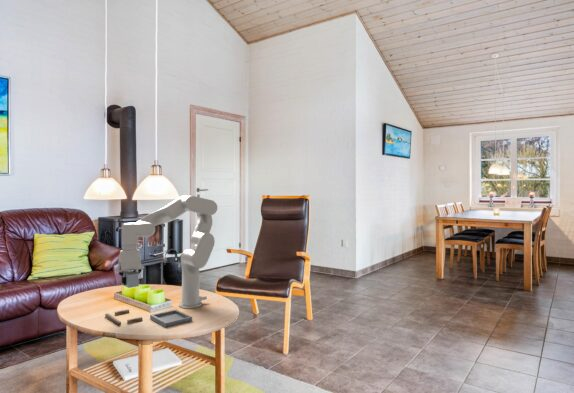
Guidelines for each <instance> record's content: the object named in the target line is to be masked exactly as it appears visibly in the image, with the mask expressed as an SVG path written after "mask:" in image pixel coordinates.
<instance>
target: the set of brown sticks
mask: <svg viewBox="0 0 574 393" xmlns="http://www.w3.org/2000/svg"><path fill="white" fill-rule="evenodd" d="M124 314H130V309H122V310H117V311H114V316H119V315H124ZM104 316H105V318H106V319H108V320H110V322H112V323H113V324H116V326H118V327H119V326H121V325H122V322H121V320H119V319H117V318H116V317H114V316H113V315H112V314H110V313H105V314H104ZM142 321H143V316H139V317H135V318H129V319H126V322H127V324H133V323H137V322H142Z"/></svg>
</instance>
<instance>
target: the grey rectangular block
mask: <svg viewBox="0 0 574 393" xmlns="http://www.w3.org/2000/svg"><path fill="white" fill-rule="evenodd" d="M139 276H140V273H139V272H137V271H134V270H130V271H127V272H126V275H125V277H126V285H123V283H122V282H121V285H122V286H124V287H126V288H127V289H130V288H136V287H139V280H140V279H139Z"/></svg>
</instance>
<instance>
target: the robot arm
mask: <svg viewBox="0 0 574 393" xmlns="http://www.w3.org/2000/svg"><path fill="white" fill-rule="evenodd" d="M217 211H218V204H217V203H216V202H215V201H214V200H211V199H208V198H204V197H200V196H195V195H189V194H187V195H186V194H185V195H181V196H179V197H178V198H176V199H174V200H173V201H171V202H169V203H168V204H167V205H165V206H164V207H162V208H160V209H157V210H155V211H153V212H151V213H149V214H147V215H145V216H144V217H142V218H140V219H138V220H137V221H136V222H124V223H122V225H121V230H122V231H121V250H120V251H119V255H118V265H117V266H116V268H115V270H114V272H115V273H117V274H118V275H119V276H121V284H122V283H123V285H122V286H124V285H126V277H125V275H126V272H127V271H130V270H134V271H137V272H139V274H141V273H142V271H143V270H145V268H146V267H145V265H144V264H143V263H142V259H141V258H142V257H141V252H140V249H139V248H141V246H142V245H141V244H139V238H149V237H152V236H153V235H154V234H155V232H156V226H158V225H162V224H167V223H171V222H172V221H174V220H176V219H177V218H178V217H180V216H182V215H183V214H186V212H193V213H196V216H197V221H196V225H195V227H194V229H193V232H192V235H191V236H190V241H189V242H190V245H191V246H192V247H193V248H187V249H185V250H184V251H182V253H181V254H180V265H181V301H180V302H179V303H178V307H179V308H182V309H197V308H200V307H201V306H203V301H206V300H207V299H208V297H207V296H206V295H205V296H202V295H200V277H201V276H200V275H201V274H200V270H201V269H202V268H204V267H206V265H207V263H208V261H209V259H210V256H211V254H212V252H213V249H214V246H215V243H216V242H215V237H214V235H213V234H212V233H211V229H212V226H213V217H212V216H214V215H215V214H216V213H217Z"/></svg>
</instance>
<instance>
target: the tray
mask: <svg viewBox="0 0 574 393" xmlns="http://www.w3.org/2000/svg"><path fill="white" fill-rule="evenodd" d="M149 319H150V320H151V321H153V322H155V323H157V324H158V325H160V326H162V327H164V328H168V327H173V326H177V325H181V324H185V323H190V322H193V316H191V315H189V314H187V313H185V312H184V311H183V312H182V311H180V310H178V309H173V310H167V311H163V312H158V313H153V314H150V316H149Z"/></svg>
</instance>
